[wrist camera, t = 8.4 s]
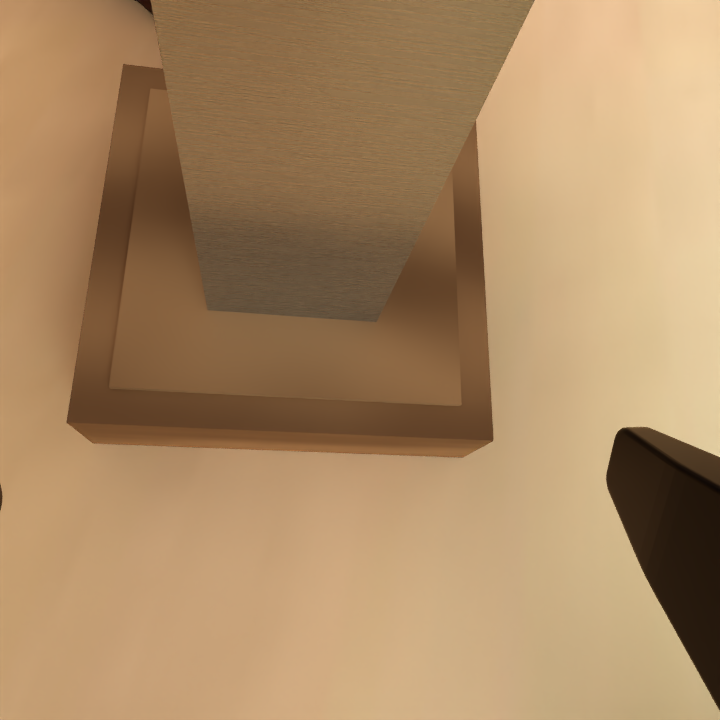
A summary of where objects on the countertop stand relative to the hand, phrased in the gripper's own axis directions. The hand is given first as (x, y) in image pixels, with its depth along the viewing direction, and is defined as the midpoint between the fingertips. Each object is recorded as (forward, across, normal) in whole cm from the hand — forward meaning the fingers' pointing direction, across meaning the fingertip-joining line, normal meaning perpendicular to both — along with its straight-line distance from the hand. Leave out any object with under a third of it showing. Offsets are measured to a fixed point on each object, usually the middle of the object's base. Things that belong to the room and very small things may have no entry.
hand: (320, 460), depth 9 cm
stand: (+14, 0, +2) cm, 14 cm away
